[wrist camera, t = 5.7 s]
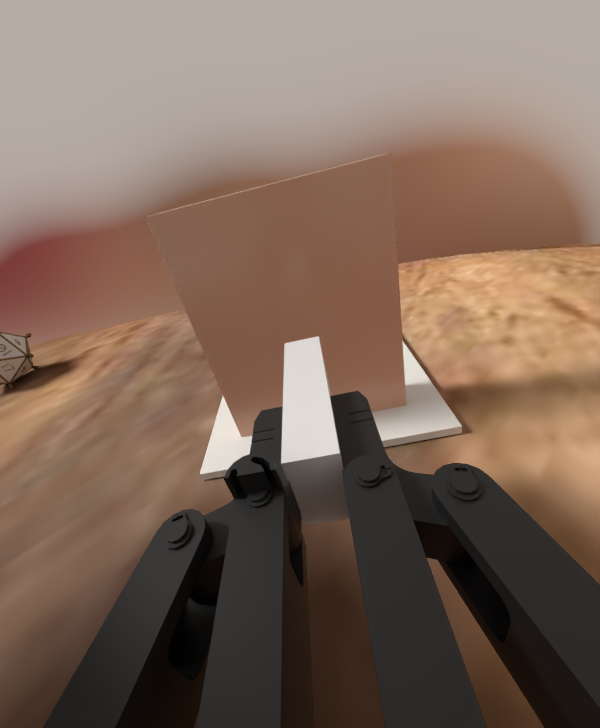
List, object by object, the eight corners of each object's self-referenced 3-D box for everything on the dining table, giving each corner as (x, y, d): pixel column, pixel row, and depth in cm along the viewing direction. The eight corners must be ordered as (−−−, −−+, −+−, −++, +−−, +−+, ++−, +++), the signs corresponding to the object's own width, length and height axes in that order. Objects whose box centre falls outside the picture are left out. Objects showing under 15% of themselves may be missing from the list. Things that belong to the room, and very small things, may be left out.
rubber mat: (461, 433, 20) (462, 426, 19) (203, 480, 21) (199, 474, 21) (378, 309, 38) (377, 305, 37) (242, 339, 39) (240, 335, 39)
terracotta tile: (396, 385, 24) (378, 155, 16) (406, 405, 22) (391, 152, 14) (245, 415, 25) (161, 212, 17) (241, 437, 23) (144, 217, 15)
